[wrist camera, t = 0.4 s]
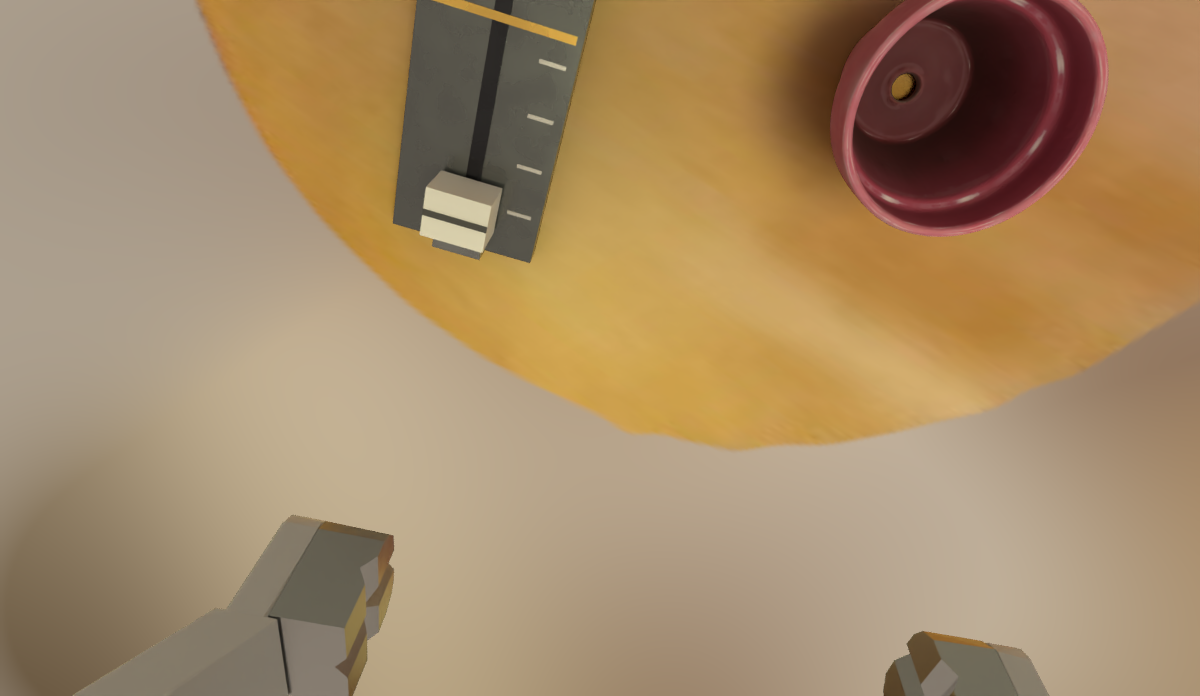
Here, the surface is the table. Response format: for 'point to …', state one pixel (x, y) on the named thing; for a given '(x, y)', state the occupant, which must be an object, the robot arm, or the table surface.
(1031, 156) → the plant pot
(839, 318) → the table surface
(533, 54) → the fader console
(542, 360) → the table surface
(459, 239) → the fader knob
